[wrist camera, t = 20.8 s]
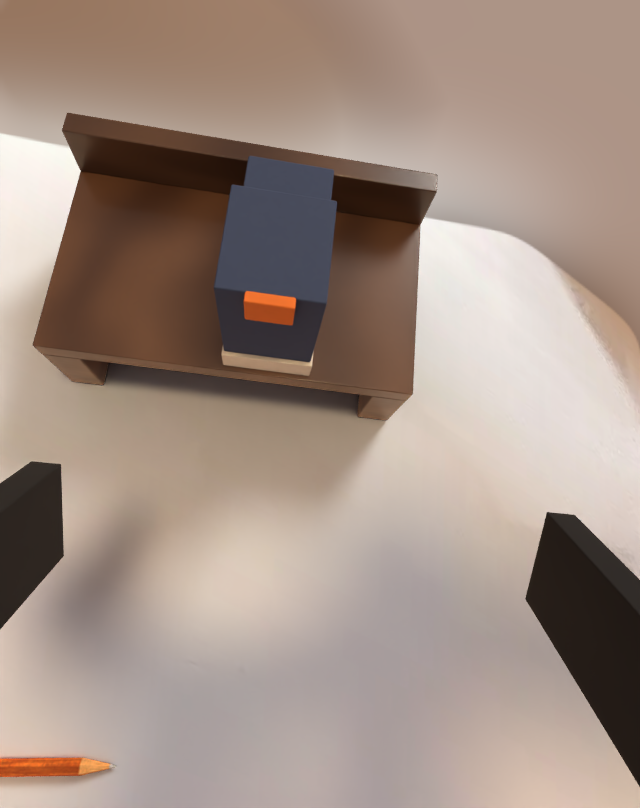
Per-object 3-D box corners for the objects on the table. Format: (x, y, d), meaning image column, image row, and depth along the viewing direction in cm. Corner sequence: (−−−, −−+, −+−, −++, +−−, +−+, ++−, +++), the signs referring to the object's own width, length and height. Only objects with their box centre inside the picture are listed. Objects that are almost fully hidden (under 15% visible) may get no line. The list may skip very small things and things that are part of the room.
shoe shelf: (396, 259, 37) (437, 173, 29) (387, 420, 34) (430, 376, 25) (111, 216, 35) (66, 111, 27) (70, 381, 32) (4, 320, 23)
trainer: (308, 380, 28) (328, 313, 20) (222, 368, 27) (208, 296, 20) (326, 217, 30) (349, 105, 23) (248, 206, 30) (245, 87, 22)
